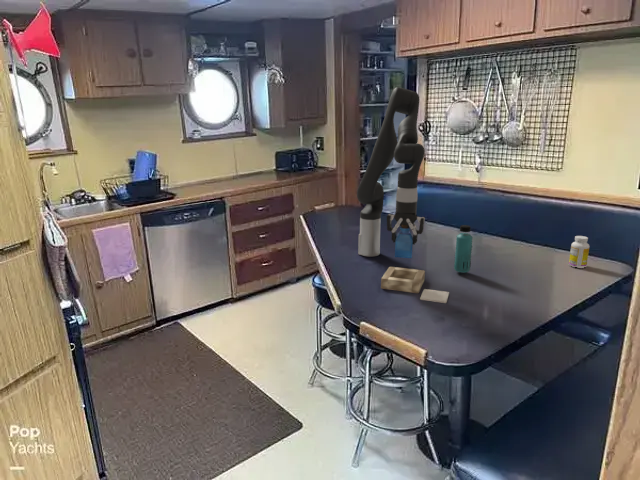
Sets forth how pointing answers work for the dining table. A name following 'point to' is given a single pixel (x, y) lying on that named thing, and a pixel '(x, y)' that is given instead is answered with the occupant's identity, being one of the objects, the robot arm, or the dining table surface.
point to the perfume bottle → (404, 243)
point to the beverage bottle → (463, 250)
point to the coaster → (434, 296)
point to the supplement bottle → (579, 251)
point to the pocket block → (403, 279)
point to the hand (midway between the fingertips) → (404, 242)
